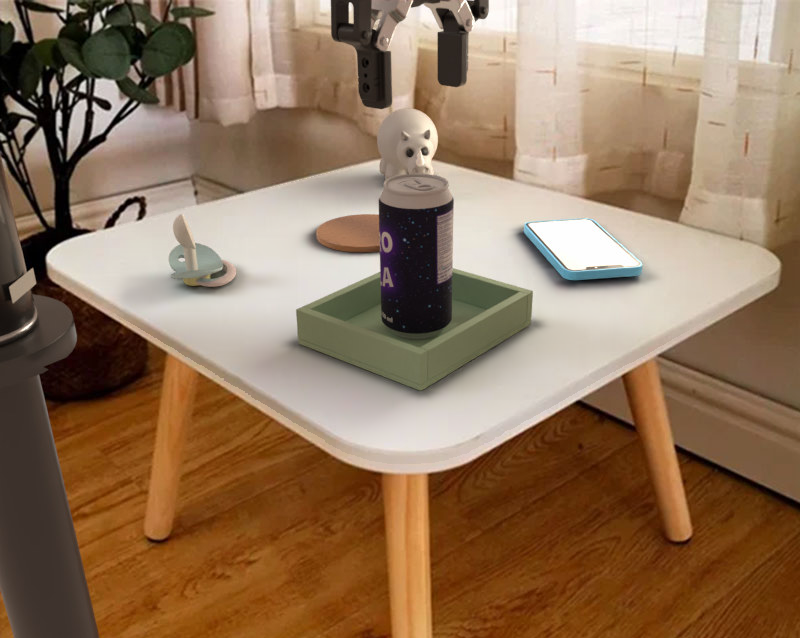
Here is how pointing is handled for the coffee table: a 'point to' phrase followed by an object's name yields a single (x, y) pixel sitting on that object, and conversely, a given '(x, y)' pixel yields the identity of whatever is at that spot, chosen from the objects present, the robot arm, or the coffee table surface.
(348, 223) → the coaster
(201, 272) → the pacifier
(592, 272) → the smartphone
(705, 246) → the coffee table surface
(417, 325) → the beverage can
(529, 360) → the coffee table surface
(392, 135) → the round bodied animal figurine
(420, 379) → the tray
